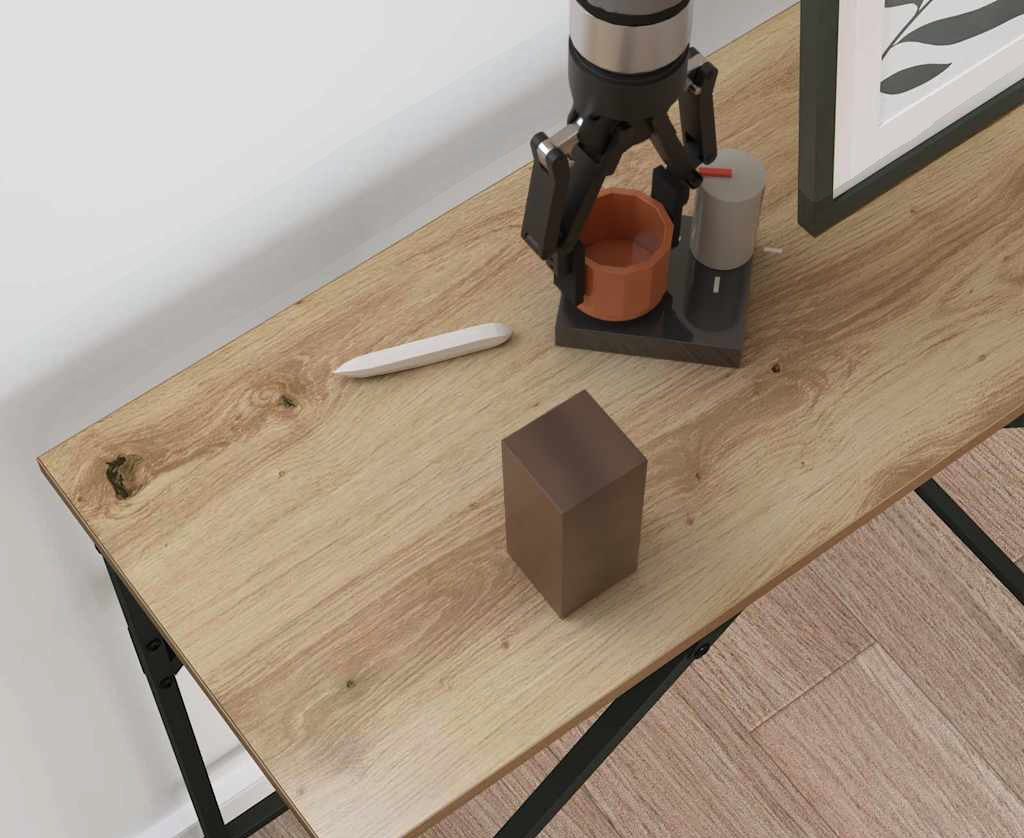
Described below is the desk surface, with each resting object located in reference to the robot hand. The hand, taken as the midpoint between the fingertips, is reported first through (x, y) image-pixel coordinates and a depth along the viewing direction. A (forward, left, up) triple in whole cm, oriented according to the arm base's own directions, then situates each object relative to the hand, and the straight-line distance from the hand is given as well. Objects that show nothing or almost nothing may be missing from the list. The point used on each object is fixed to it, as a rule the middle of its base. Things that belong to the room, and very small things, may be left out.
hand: (616, 264), depth 119 cm
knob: (-8, -5, -3) cm, 10 cm away
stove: (-4, -3, -6) cm, 8 cm away
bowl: (0, 0, -2) cm, 2 cm away
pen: (+14, +7, -6) cm, 16 cm away
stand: (0, +22, -6) cm, 23 cm away
